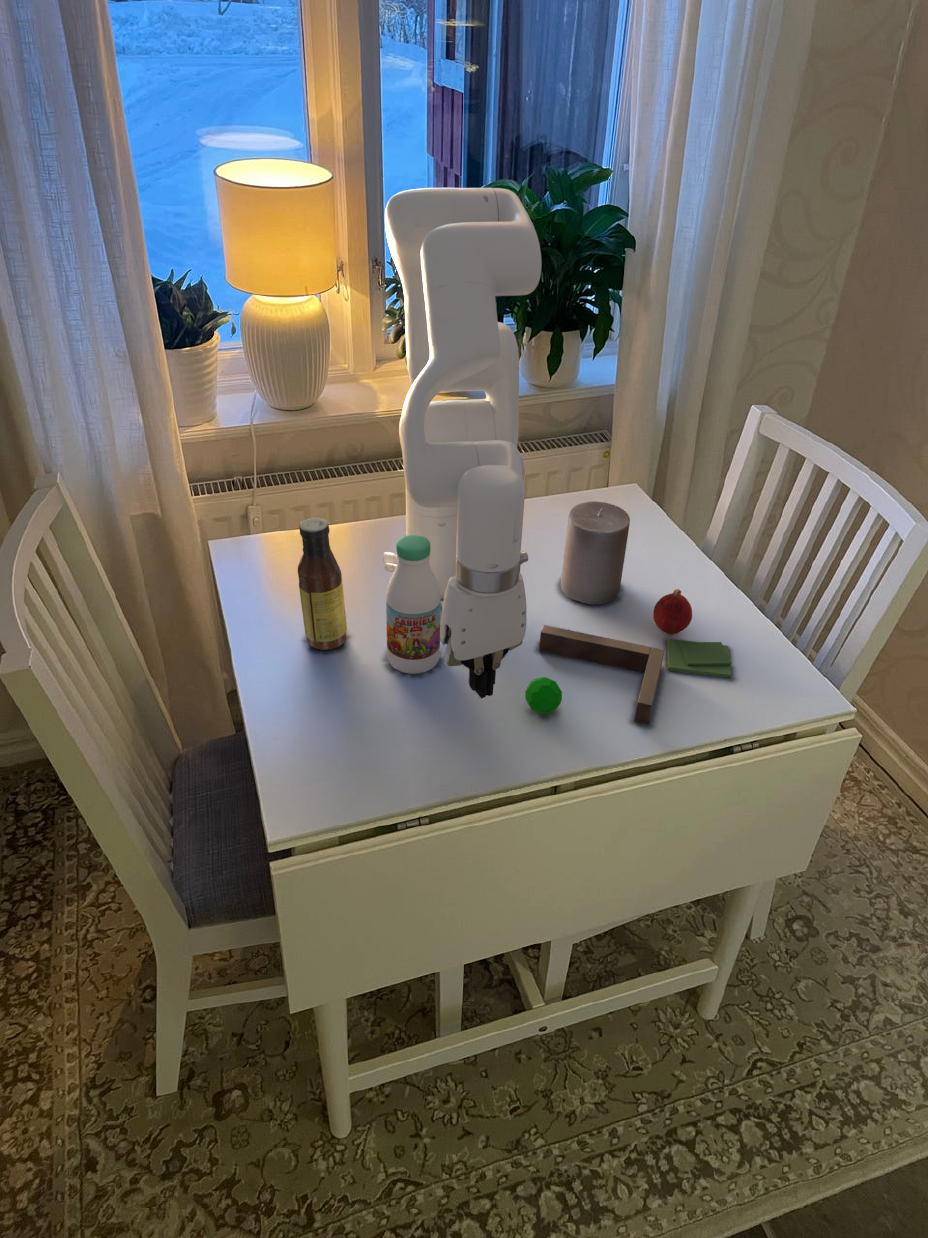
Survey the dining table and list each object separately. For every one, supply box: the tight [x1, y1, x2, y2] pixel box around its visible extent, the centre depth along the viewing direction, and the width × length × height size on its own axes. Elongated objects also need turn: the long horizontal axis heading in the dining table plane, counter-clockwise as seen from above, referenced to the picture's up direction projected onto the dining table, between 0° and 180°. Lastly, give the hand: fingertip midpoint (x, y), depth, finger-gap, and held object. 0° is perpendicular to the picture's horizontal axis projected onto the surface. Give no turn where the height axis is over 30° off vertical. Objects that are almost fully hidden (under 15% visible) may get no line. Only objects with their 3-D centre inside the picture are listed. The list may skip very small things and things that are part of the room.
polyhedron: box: [524, 676, 563, 715], centre depth 127 cm, size 5×5×5 cm
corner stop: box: [538, 624, 666, 725], centre depth 133 cm, size 18×13×4 cm
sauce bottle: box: [297, 517, 348, 651], centre depth 134 cm, size 7×6×20 cm
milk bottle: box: [385, 535, 442, 675], centre depth 131 cm, size 8×8×20 cm
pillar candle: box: [560, 500, 631, 606], centre depth 149 cm, size 10×10×15 cm
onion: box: [652, 588, 693, 635], centre depth 141 cm, size 6×6×8 cm
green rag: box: [666, 638, 732, 679], centre depth 138 cm, size 9×7×1 cm
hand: (481, 690), depth 120 cm, fingers closed
